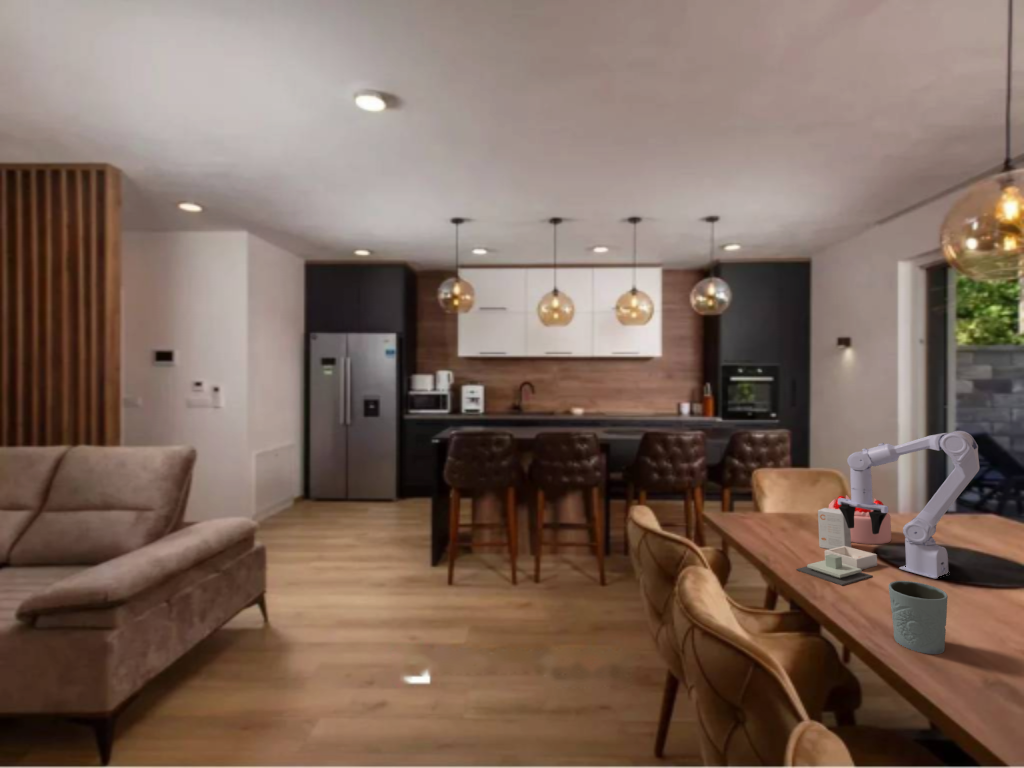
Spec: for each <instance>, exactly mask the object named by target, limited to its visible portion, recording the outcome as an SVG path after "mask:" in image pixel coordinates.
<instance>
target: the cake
mask: <svg viewBox="0 0 1024 768" xmlns="http://www.w3.org/2000/svg"><path fill="white" fill-rule="evenodd" d="M839 498H844V499H851V497H849V496H848V495H847V494H846V495H845V496H843V495H838V497H837V498H834V499H833V500H832V501H831V502H830V503H828V507H827V508H829V509H836V510H840V509H839V507H840V506H841V505H839V504H838V499H839ZM873 503H876V504H880V505H884V503H883V502H882V500H880V499H879V500H878V499H876V498H875V497H874V498H873ZM872 511H873V510H868V509H863V508H857V507H856V508H855V513H854V528H850V531H851V543H855V544H856V543H857V544H861V545H862V544H864V545H865V544H866V545H884V544H888V543H890V542H891V541H892V523H891V522H892V521H891V519H892V518H891V515H890V513H889V512H888V513H887V515H886V516H885V518H884V519H883V521H882V523H881V526H880V530H879V534H873V533H872V522H871V518H870V515H869V512H872Z"/></svg>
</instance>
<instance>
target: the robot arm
mask: <svg viewBox="0 0 1024 768" xmlns="http://www.w3.org/2000/svg"><path fill="white" fill-rule="evenodd" d="M877 445H878V446H874V447H870V448H866V447H865V448H862V449H861V450H860V451H854V452H853V453H851V454H850V455H848V457H847V460H846V461H847V465H848V466H849V470H850V473H849V474H850V476H849V478H850V499H844V498H839V499H838V504H839V505H841V506H840V507H839V509H840V511H841V512H842V514H843V515H844V518H845V520H846V523H847V526H848V528H854V513H855V508H856V507H857V508H863V509H868V510H873V511H872V512H869V515H870V518H871V522H872V533H873V534H879V530H880V526H881V523H882V521H883V519H884V518H885V516H886V515H887V513H888V514H889V506H888V505H884V504H883V505H880V504H876V503H873V502H874V498H873V477H872V467H878V466H883V465H886V464H889V463H893V462H894V463H895V462H896V461H899V458H900V456H903V455H907V454H911V453H916V452H919V451H923V450H926V449H927V450H928V449H929V450H934V451H942V450H943V451H944V453H945V454H946V455H947V456H948V457H950V459H951V462H952V464H953V466H954V469H953V470H952V471H951V472H950V473H949V475H948V476H947V477H946V479H945V480H944V482H943V483H942V484H941V485H940V486H939V488H938V489H937V490H936V492H935V493H934V494H933V496H932V497H931V499H930V500H929V501H928V502H927V503H926V505H924V507H923V509H922V510H921V511H920V512H919V513H918V514H917V515H916V516H915V517H914V518H912V519H911V520H910V521H909V522H907V523H906V524H905V525H904V526H903V528H902V532H903V536H904V545H905V547H904V549H905V550H904V551H905V565H903V566H900V567H899V568H898V569H899V570H901V571H905V572H910V573H913V574H915V575H916V574H917V575H920V576H923V577H927V578H929V579H934V580H935V579H939V578H938V577H939V576H942V575H944V574H947V573H948V572H949V558H948V557H949V555H948V550H947V549H946V548H945V547H944V546H941V545H938V544H937V543H936V542H937V541H936V540H935V538H934V537H933V536H934V535H935V534H936V532H937V524H939V522H940V521H941V519H942V518H943V516H944V515H945V514H946V512H948V510H949V509H950V508H951V506H952V505H953V504H954V503H955V501H956V500H957V498H958V497H959V496H960V495H961V493H962V492H963V491H964V490H965V489H966V487H967V486H968V485H969V483H970V482H971V481H972V480H973V479H974V477H975V476H976V475H977V474H978V472H979V471H980V461H979V459H980V458H979V445H978V444H977V442H976V439H974V437H973V436H972V434H970V433H968V432H966V431H964V430H955V431H952V432H943V433H937V434H932V435H931V434H930V435H927V436H925V437H921V438H917V439H914V440H909V441H907V442H904V443H900V444H898V445H897V444H896V445H893V444H891V443H884V442H882V443H878V444H877ZM905 566H906V567H905Z"/></svg>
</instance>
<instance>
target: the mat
mask: <svg viewBox="0 0 1024 768" xmlns="http://www.w3.org/2000/svg"><path fill="white" fill-rule="evenodd" d="M795 570H796V571H797V570H798V572H800V571H801V572H800V573H803V574H806V575H810V576H813V577H815V578H818V579H821V580H824V581H827V582H830V583H834V584H836V585H839V586H846V585H849V584H852V583H853V584H854V583H856V582H861V581H864V580H867V579H870V578H873V575H872V574H868V573H865V572H863V571H862V572H859V573H855V574H853V575H850V576H846V577H842V578H836V577H833V576H830V575H826V574H823V573H820V572H817V571H814V570H813V569H812V568H808V567H807V565H806V566H802V567H800V568H796V569H795Z"/></svg>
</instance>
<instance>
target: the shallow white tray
mask: <svg viewBox="0 0 1024 768" xmlns="http://www.w3.org/2000/svg"><path fill="white" fill-rule="evenodd" d="M830 554H834V555H837V556H841V557H842V563H843V564H846V565H849V566H853V567H856V568H860V569H862V571H863V570H865V569H870V568H873V567H877V566H878V558H877V557H878V554H876V553H874V552H873V553H872V552H870V551H867V550H866V551H865V550H861V549H857V548H854V547H852V546H851V547H847V546H841V547H837V548H833V549H825V550H824V556H825V555H830ZM824 560H826V558H825V557H824Z"/></svg>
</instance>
